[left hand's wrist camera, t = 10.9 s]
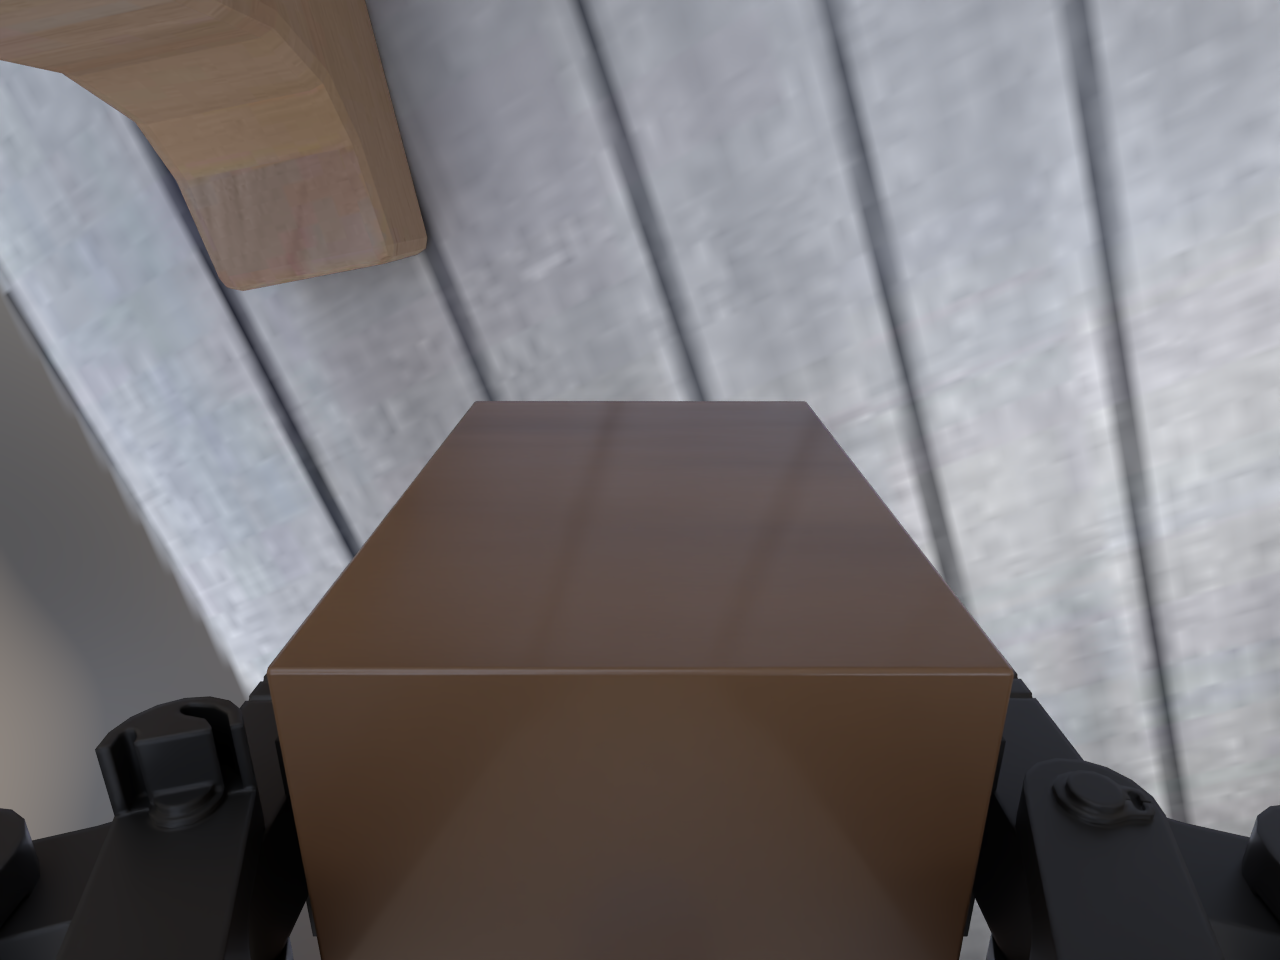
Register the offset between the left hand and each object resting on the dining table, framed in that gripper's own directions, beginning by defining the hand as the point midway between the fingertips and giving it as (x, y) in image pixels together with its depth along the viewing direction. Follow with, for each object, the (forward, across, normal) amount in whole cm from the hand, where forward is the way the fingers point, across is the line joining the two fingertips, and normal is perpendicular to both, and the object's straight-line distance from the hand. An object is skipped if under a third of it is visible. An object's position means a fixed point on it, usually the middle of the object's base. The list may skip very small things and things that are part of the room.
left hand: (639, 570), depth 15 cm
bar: (+1, 0, -14) cm, 14 cm away
